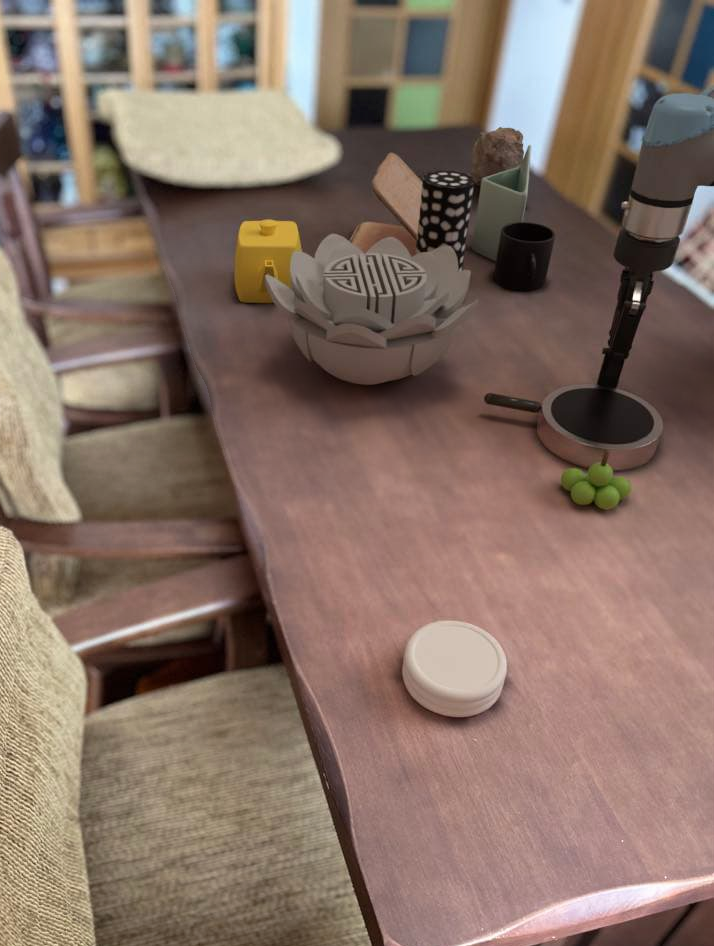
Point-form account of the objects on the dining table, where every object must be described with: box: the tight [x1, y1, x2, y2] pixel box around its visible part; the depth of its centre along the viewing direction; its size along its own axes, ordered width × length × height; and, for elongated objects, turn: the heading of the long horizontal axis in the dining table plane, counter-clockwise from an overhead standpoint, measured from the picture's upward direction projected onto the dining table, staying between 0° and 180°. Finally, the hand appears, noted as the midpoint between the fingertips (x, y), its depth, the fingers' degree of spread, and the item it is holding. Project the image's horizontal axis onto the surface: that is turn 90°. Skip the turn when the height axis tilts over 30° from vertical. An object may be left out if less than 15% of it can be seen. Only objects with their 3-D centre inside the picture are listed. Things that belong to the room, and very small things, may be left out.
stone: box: [470, 126, 532, 188], centre depth 180 cm, size 22×10×15 cm, turn 8°
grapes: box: [560, 450, 633, 511], centre depth 101 cm, size 9×5×8 cm, turn 73°
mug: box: [493, 221, 556, 292], centre depth 148 cm, size 9×12×9 cm
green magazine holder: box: [471, 144, 532, 263], centre depth 155 cm, size 16×8×20 cm, turn 172°
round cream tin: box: [401, 619, 508, 718], centre depth 81 cm, size 10×10×4 cm
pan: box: [483, 383, 664, 472], centre depth 114 cm, size 24×16×4 cm, turn 71°
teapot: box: [233, 218, 303, 304], centre depth 144 cm, size 20×12×12 cm, turn 1°
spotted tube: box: [415, 169, 475, 272], centre depth 140 cm, size 8×8×20 cm
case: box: [348, 152, 423, 257], centre depth 155 cm, size 20×21×16 cm
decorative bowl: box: [265, 233, 479, 386], centre depth 123 cm, size 30×30×15 cm
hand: (605, 391), depth 121 cm, fingers closed
